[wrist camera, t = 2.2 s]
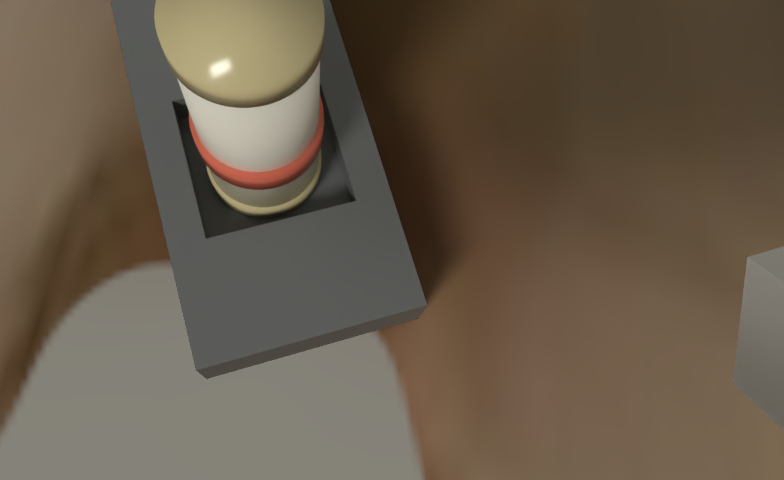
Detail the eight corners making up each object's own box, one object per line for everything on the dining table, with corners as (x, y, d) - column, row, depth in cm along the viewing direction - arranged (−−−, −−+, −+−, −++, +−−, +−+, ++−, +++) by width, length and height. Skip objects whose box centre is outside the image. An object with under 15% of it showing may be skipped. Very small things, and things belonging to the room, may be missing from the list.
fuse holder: (417, 318, 28) (427, 304, 26) (206, 378, 27) (196, 370, 24) (261, -180, 34) (256, -229, 32) (82, -152, 33) (63, -200, 30)
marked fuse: (184, 181, 28) (115, 32, 18) (250, 95, 29) (218, -86, 19) (282, 241, 27) (264, 122, 18) (343, 151, 29) (358, -5, 19)
